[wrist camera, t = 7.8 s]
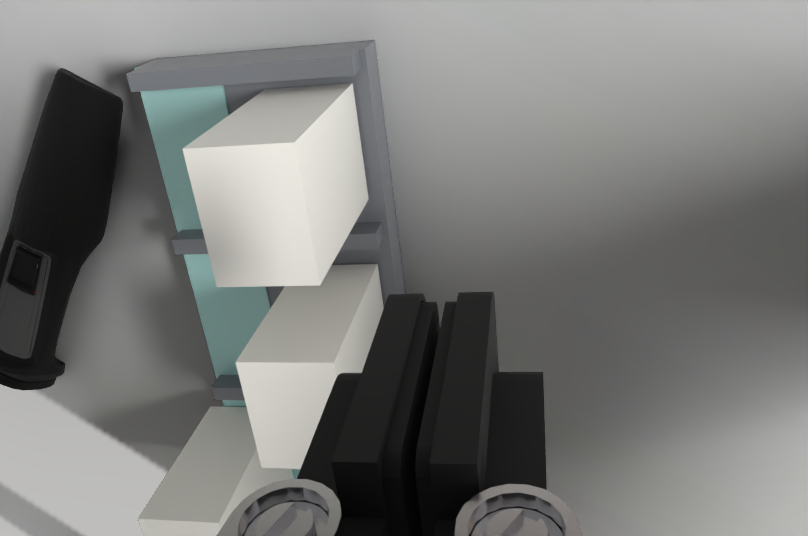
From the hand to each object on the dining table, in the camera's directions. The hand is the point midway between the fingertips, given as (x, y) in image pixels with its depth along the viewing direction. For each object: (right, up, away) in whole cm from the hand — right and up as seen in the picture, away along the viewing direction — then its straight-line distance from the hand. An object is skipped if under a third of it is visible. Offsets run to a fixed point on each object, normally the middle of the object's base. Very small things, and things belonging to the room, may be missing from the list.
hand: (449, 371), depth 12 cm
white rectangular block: (-3, 0, +16) cm, 16 cm away
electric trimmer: (-15, +3, +19) cm, 24 cm away
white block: (-4, +6, +13) cm, 15 cm away
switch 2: (-7, -6, +20) cm, 22 cm away
